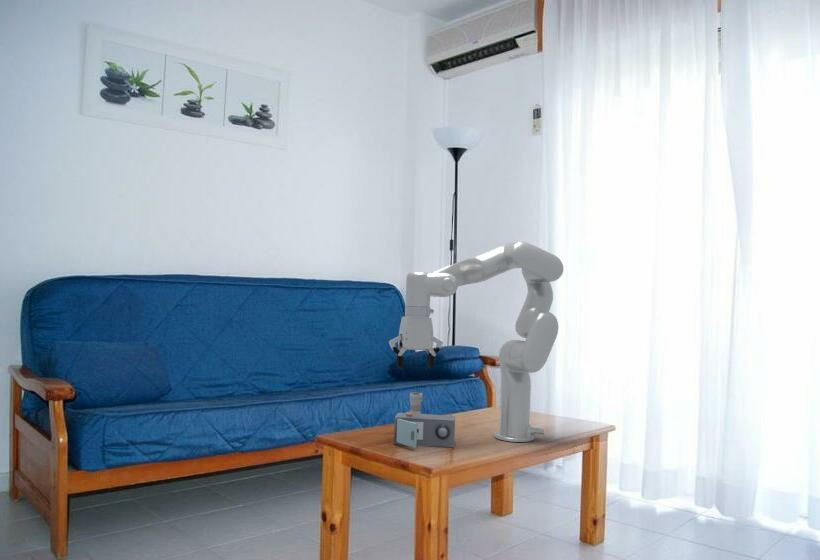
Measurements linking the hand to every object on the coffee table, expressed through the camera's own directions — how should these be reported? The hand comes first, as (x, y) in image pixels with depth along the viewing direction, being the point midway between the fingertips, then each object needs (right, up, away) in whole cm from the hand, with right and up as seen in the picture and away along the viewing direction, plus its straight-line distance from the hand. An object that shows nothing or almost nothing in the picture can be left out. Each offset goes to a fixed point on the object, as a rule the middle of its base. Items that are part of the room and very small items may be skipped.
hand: (415, 368), depth 196 cm
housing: (+3, -23, +1) cm, 23 cm away
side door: (-3, -21, -7) cm, 22 cm away
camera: (+3, -24, +20) cm, 31 cm away
